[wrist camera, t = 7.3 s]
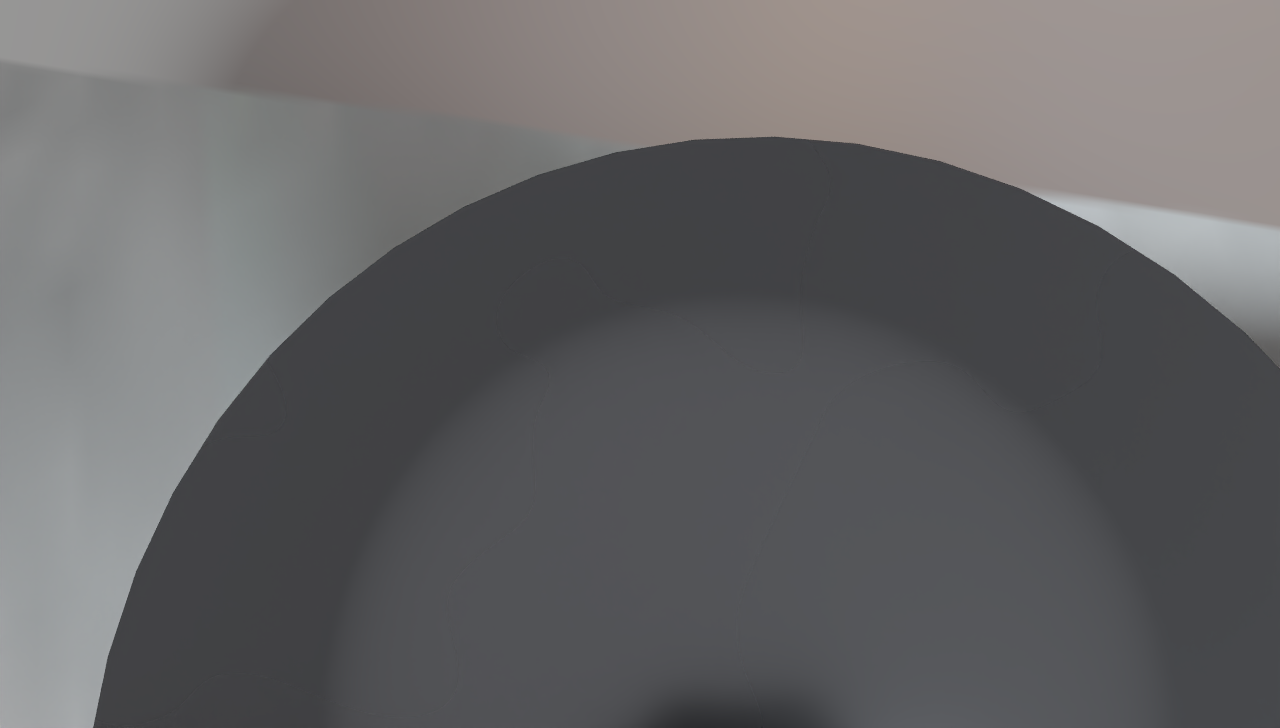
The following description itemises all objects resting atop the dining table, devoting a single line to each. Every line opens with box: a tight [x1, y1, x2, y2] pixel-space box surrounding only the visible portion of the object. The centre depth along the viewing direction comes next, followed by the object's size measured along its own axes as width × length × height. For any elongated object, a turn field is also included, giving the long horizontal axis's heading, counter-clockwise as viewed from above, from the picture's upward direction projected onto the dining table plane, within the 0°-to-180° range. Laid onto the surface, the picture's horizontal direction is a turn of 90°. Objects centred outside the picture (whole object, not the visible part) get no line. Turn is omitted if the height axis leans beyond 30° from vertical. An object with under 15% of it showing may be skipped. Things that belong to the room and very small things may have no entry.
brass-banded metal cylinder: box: [93, 137, 1280, 728], centre depth 9 cm, size 6×6×12 cm
